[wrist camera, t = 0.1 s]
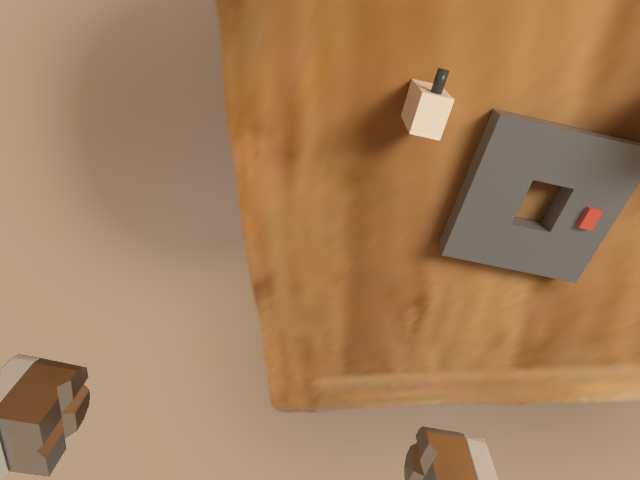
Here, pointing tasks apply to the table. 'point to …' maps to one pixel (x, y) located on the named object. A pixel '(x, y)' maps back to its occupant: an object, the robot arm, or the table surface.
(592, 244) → the socket plate
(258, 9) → the table surface
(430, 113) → the plug
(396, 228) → the table surface
